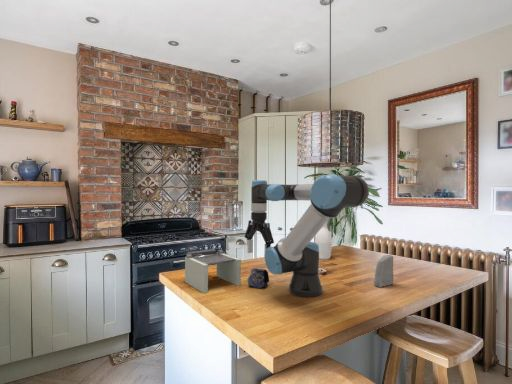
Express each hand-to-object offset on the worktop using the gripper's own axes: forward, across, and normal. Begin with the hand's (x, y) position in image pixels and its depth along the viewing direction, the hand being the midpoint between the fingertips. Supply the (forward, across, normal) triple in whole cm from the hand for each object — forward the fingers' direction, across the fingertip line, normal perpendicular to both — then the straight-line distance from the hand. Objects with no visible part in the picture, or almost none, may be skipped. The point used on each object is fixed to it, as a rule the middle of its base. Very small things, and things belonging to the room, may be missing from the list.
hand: (258, 255), depth 152 cm
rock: (+15, 0, 0) cm, 15 cm away
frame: (+15, +15, +17) cm, 27 cm away
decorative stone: (+14, -36, -50) cm, 64 cm away
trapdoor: (+8, +17, +17) cm, 25 cm away
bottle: (+15, +21, -72) cm, 76 cm away
